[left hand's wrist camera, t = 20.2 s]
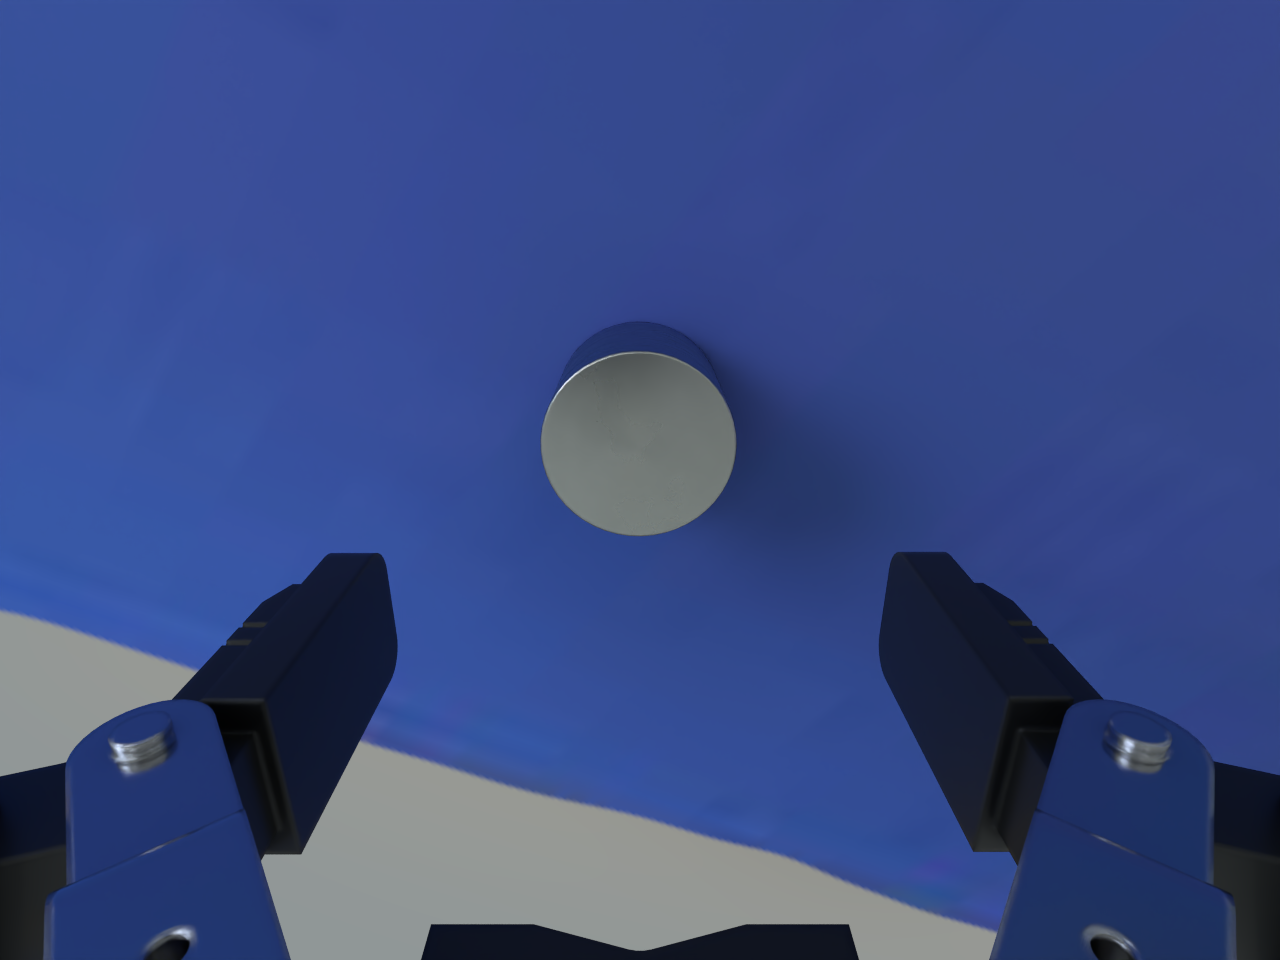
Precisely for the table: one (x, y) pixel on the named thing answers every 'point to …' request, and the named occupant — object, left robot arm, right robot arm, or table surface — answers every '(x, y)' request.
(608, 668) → the table surface
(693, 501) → the can
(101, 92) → the table surface
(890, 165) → the table surface
